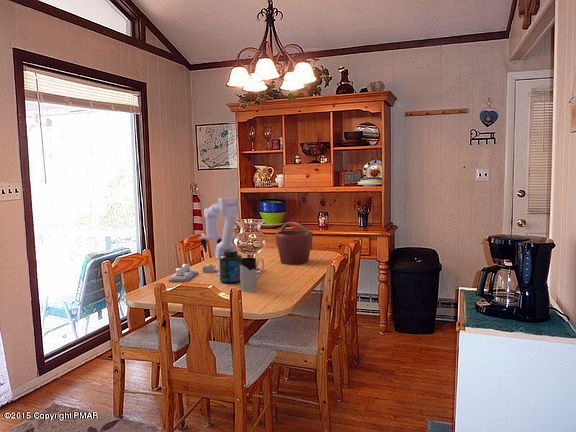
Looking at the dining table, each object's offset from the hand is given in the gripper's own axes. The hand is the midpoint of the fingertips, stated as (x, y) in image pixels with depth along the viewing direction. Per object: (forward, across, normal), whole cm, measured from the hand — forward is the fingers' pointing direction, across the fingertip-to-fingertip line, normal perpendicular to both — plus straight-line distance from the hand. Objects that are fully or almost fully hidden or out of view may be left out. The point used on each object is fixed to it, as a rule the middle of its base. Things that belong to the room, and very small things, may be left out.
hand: (212, 252), depth 271 cm
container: (+11, -17, +28) cm, 35 cm away
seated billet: (+9, +11, +25) cm, 29 cm away
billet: (+9, +11, +15) cm, 21 cm away
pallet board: (+10, +11, +19) cm, 25 cm away
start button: (+11, +1, +4) cm, 12 cm away
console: (+10, +1, +4) cm, 11 cm away
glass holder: (+11, -31, +43) cm, 54 cm away
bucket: (+11, -46, -19) cm, 51 cm away
